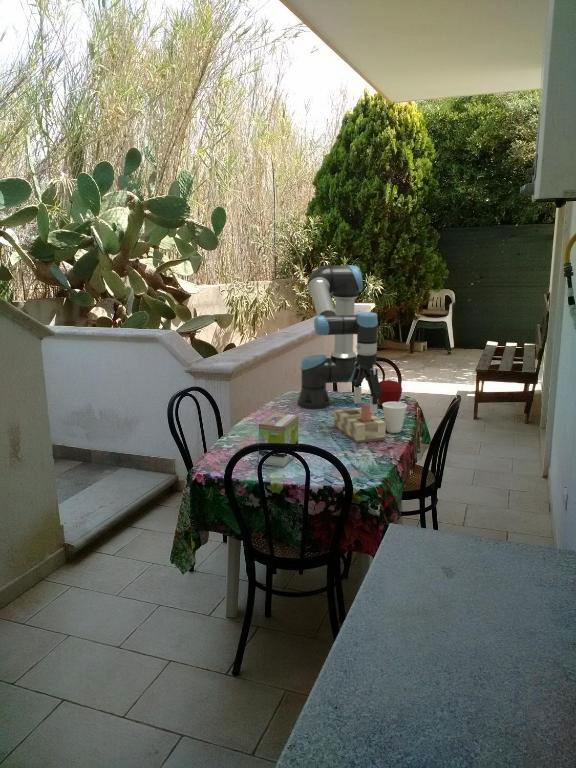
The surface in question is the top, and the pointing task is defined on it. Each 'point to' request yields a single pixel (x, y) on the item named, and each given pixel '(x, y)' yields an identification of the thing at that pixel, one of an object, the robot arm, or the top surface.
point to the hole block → (359, 426)
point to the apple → (389, 391)
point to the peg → (365, 413)
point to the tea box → (278, 435)
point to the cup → (394, 416)
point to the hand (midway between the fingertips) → (365, 407)
